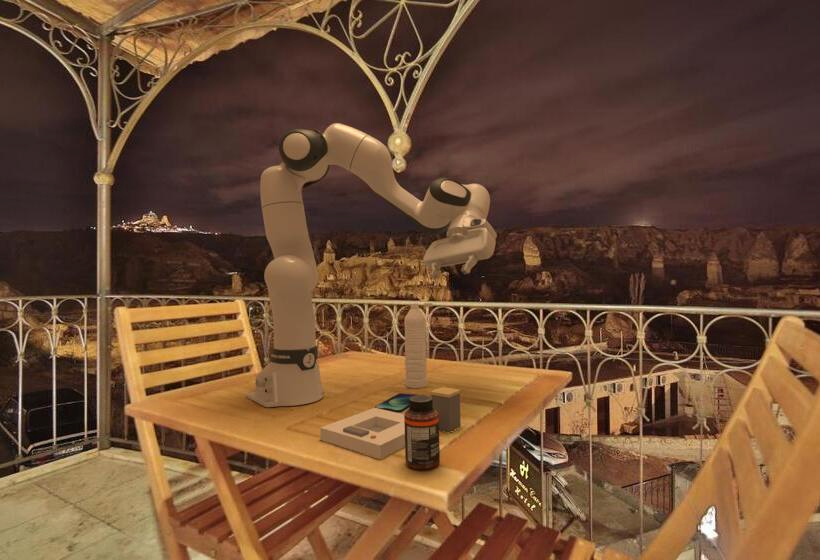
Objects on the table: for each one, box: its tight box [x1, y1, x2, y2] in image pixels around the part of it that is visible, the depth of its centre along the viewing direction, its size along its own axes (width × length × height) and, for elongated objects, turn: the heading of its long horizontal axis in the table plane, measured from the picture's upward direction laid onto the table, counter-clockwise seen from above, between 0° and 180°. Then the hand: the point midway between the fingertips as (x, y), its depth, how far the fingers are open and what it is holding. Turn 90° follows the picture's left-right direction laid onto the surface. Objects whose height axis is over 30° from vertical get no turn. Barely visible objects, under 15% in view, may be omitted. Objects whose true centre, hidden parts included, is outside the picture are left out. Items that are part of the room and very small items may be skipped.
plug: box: [430, 386, 462, 434], centre depth 88 cm, size 5×5×8 cm
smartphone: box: [374, 392, 417, 414], centre depth 107 cm, size 8×1×15 cm
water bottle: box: [403, 302, 433, 389], centre depth 125 cm, size 9×6×25 cm
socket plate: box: [319, 407, 405, 460], centre depth 84 cm, size 16×16×3 cm
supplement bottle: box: [403, 394, 441, 471], centre depth 71 cm, size 6×6×11 cm
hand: (449, 274), depth 104 cm, fingers open, 8 cm apart
